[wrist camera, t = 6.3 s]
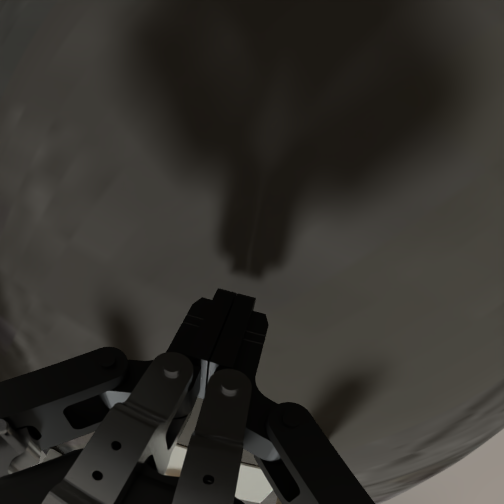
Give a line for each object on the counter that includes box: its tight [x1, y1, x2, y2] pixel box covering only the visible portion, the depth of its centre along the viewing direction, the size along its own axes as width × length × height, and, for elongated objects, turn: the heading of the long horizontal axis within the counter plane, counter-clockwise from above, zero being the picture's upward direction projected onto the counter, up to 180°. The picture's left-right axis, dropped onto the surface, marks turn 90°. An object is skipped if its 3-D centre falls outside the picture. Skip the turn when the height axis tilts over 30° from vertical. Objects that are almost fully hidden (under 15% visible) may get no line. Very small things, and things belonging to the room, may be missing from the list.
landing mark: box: [164, 444, 273, 503], centre depth 28 cm, size 14×14×1 cm
